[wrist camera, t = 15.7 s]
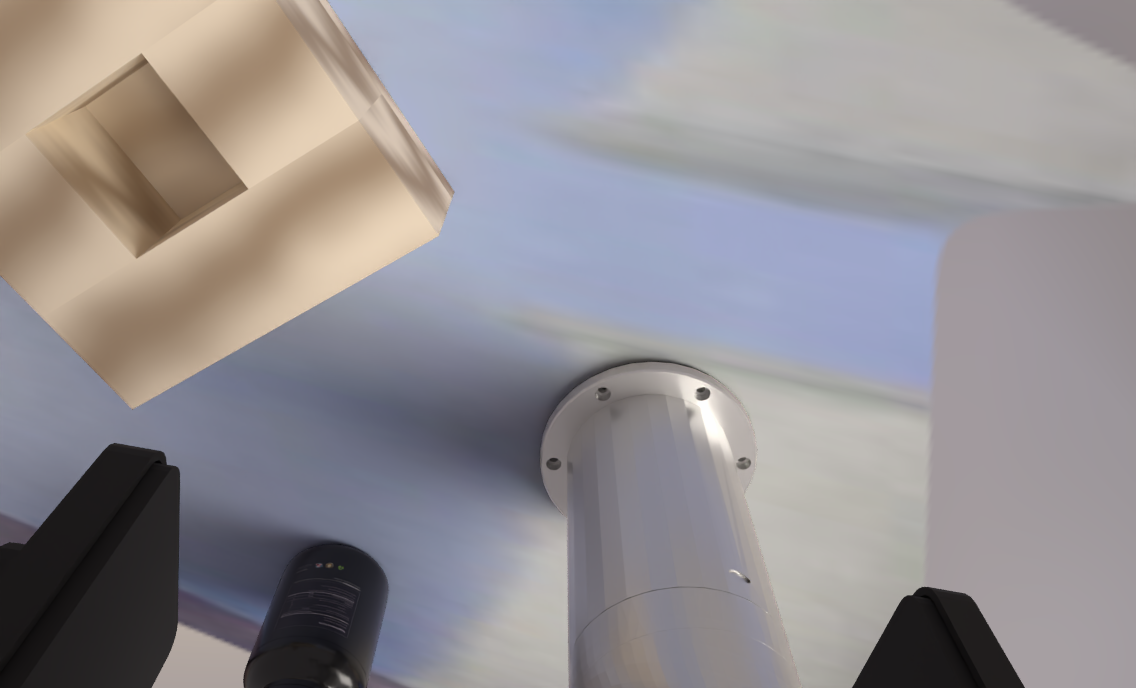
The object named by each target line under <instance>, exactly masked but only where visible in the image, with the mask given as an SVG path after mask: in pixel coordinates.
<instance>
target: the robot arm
mask: <svg viewBox="0 0 1136 688" xmlns="http://www.w3.org/2000/svg"><path fill="white" fill-rule="evenodd" d="M602 387H604V389H601V388H602ZM700 387H703V388H700ZM699 388H700V389H699ZM756 462H757V444H756V438H755V433H754V430H753V427H752V424H751V421H750V418H749V416H748V414H747V413H746V411H745V409H744V407H743V406H742V404H741V402H740V401H739V400H738V399H737V398H736V396H735V395H734V394H733V393H732V392H731V391H730V390H729V389H728V388H727V387H726V386H724V385H723V384H721V383H720V382H719V381H717V380H716V379H714V378H713V377H711V376H709V375H707V374H705V373H702V372H700V371H698V370H696V369H693V368H690V367H686V366H682V365H678V364H674V363H662V362H644V363H632V364H627V365H623V366H619V367H615V368H612V369H609V370H606V371H604V372H602V373H600V374H597V375H595V376H593V377H591V378H589V379H588V380H586V381H585V382H583V383H582V384H580V385H579V386H577V387H576V388H574V389H573V390H572V391H571V392H570V393H569V394H568V395H567V396H566V397H565V398H564V399H563V400H562V401H561V402H560V403H559V404H558V406H557V407H556V409H555V410H554V412H553V413H552V415H551V416H550V418H549V420H548V423H547V425H546V428H545V430H544V433H543V437H542V443H541V449H540V469H541V474H542V479H543V484H544V486H545V488H546V490H547V493H548V495H549V497H550V499H551V500H552V502H553V503H554V504H555V506H556V507H557V508H558V510H559V511H560V512H561V513H562V514H563V515H564V516H565V517H566V518H567V558H568V670H569V688H802V685H801V682H800V679H799V676H798V672H797V669H796V666H795V662H794V659H793V656H792V652H791V649H790V646H789V642H788V639H787V636H786V632H785V629H784V626H783V622H782V619H781V616H780V612H779V609H778V606H777V602H776V599H775V596H774V592H773V589H772V585H771V582H770V579H769V575H768V572H767V569H766V565H765V562H764V559H763V555H762V552H761V549H760V545H759V542H758V539H757V535H756V532H755V529H754V525H753V522H752V519H751V515H750V512H749V509H748V505H747V502H746V499H745V493H746V491H747V489H748V487H749V486H750V484H751V482H752V478H753V475H754V472H755V469H756ZM179 504H180V471H179V469H178V467H176V466H171V465H167V464H166V457H165V454H164V453H163V452H161V451H157V450H151V449H145V448H140V447H134V446H128V445H123V444H117V443H113V444H110V445H109V446H108V447H107V448H106V449H105V450H104V451H103V452H102V453H101V454H100V456H99V457H98V458H97V459H96V460H95V462H94V463H93V464H92V465H91V466H90V468H89V469H88V470H87V471H86V472H85V474H84V475H83V476H82V477H81V478H80V480H79V481H78V482H77V483H76V484H75V486H74V487H73V488H72V489H71V490H70V492H69V493H68V494H67V495H66V496H65V498H64V499H63V500H62V501H61V502H60V504H59V505H58V506H57V507H56V508H55V510H54V511H53V512H52V513H51V514H50V516H49V517H48V518H47V519H46V520H45V522H44V523H43V524H42V525H41V526H40V528H39V529H38V530H37V531H36V532H35V534H34V535H33V536H32V537H31V538H30V540H29V541H28V542H27V543H26V544H19V543H11V542H9V543H7V544H5V545H2V546H0V688H152V686H153V684H154V682H155V680H156V678H157V676H158V674H159V672H160V670H161V668H162V667H163V664H164V663H165V661H166V659H167V657H168V655H169V653H170V651H171V648H172V645H173V643H174V639H175V636H176V631H177V624H178V570H179ZM852 688H1025V687H1024V685H1023V684H1022V682H1021V680H1020V679H1019V677H1018V675H1017V673H1016V672H1015V670H1014V668H1013V667H1012V665H1011V663H1010V661H1009V660H1008V658H1007V656H1006V655H1005V653H1004V651H1003V650H1002V648H1001V646H1000V644H999V643H998V641H997V639H996V637H995V636H994V634H993V632H992V631H991V629H990V627H989V625H988V624H987V622H986V620H985V618H984V617H983V615H982V613H981V612H980V610H979V608H978V606H977V605H976V603H975V602H974V601H973V599H972V598H971V597H970V596H968V595H966V594H964V593H959V592H953V591H947V590H942V589H936V588H930V587H921V588H919V589H918V590H916V592H915V593H914V594H913V596H912V595H907V596H906V597H904V598H903V599H902V600H901V602H900V603H899V605H898V607H897V609H896V611H895V612H894V614H893V616H892V618H891V619H890V621H889V623H888V625H887V627H886V628H885V630H884V632H883V634H882V635H881V637H880V639H879V641H878V643H877V644H876V646H875V648H874V650H873V652H872V653H871V655H870V657H869V659H868V660H867V662H866V664H865V666H864V668H863V669H862V671H861V673H860V675H859V677H858V678H857V680H856V682H855V684H854V685H853V687H852Z"/></svg>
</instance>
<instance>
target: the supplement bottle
mask: <svg viewBox="0 0 1136 688" xmlns="http://www.w3.org/2000/svg"><path fill="white" fill-rule="evenodd" d="M387 598H388V582H387V578H386V575H385V573H384V571H383V570H382V568H381V567H380V566H379V564H378V563H377V562H376V561H375V560H374V559H372V558H371V557H370V556H369V555H367V554H365V553H364V552H362V551H360V550H357V549H355V548H352V547H349V546H344V545H336V544H327V545H319V546H315V547H312V548H309V549H307V550H305V551H303V552H301V553H299V554H298V555H297V556H295V557H294V558H293V559H292V560H291V561H290V563H289V564H288V565H287V567H286V569H285V571H284V573H283V575H282V578H281V580H280V582H279V585H278V587H277V590H276V592H275V595H274V597H273V600H272V602H271V605H270V607H269V610H268V612H267V615H266V617H265V620H264V622H263V625H262V627H261V630H260V632H259V635H258V637H257V640H256V642H255V645H254V647H253V650H252V653H251V655H250V658H249V660H248V663H247V665H246V669H245V672H244V679H243V683H244V688H367V685H368V680H369V676H370V672H371V668H372V663H373V659H374V655H375V651H376V646H377V642H378V638H379V634H380V629H381V625H382V621H383V617H384V612H385V608H386V603H387Z"/></svg>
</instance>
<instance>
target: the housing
mask: <svg viewBox="0 0 1136 688" xmlns="http://www.w3.org/2000/svg"><path fill="white" fill-rule="evenodd" d="M453 194H454V191H453V189H452V188H451V186H450V185H449V183H448V182H447V180H446V179H445V177H444V176H443V174H442V173H441V171H440V170H439V168H438V167H437V165H436V164H435V162H434V161H433V159H432V158H431V156H430V155H429V153H428V152H427V150H426V149H425V147H424V146H423V144H422V143H421V141H420V140H419V138H418V137H417V135H416V134H415V132H414V131H413V129H412V128H411V126H410V125H409V123H408V122H407V120H406V119H405V117H404V116H403V114H402V113H401V111H400V110H399V108H398V107H397V105H396V104H395V102H394V101H393V99H392V98H391V96H390V95H389V93H388V92H387V90H386V89H385V87H384V86H383V84H382V83H381V81H380V80H379V78H378V77H377V75H376V74H375V72H374V71H373V69H372V68H371V66H370V65H369V63H368V62H367V60H366V59H365V57H364V56H363V54H362V53H361V51H360V50H359V48H358V46H357V45H356V43H355V42H354V40H353V39H352V37H351V36H350V34H349V33H348V31H347V30H346V28H345V27H344V25H343V24H342V22H341V21H340V19H339V18H338V16H337V15H336V13H335V12H334V10H333V9H332V7H331V6H330V4H329V3H328V1H327V0H0V276H1V277H2V278H3V279H4V280H5V281H6V282H7V283H8V284H9V285H10V286H11V287H12V288H13V289H14V290H15V291H16V292H17V293H18V294H19V295H20V296H21V297H22V298H23V299H24V300H25V301H26V302H27V303H28V304H29V305H30V306H31V307H32V308H33V309H34V310H35V311H36V312H37V313H38V314H39V315H40V316H41V317H42V318H43V319H44V320H45V321H46V322H47V323H48V324H49V325H50V326H51V327H52V328H53V329H54V330H55V331H56V332H57V333H58V335H59V336H60V337H61V338H62V339H63V340H64V341H65V342H66V343H67V344H68V345H69V346H70V347H71V348H72V349H73V350H74V351H75V352H76V353H77V354H78V355H79V356H80V357H81V358H82V359H83V360H84V361H85V362H86V363H87V364H88V365H89V366H90V367H91V368H92V369H93V370H94V371H95V372H96V373H97V374H98V375H99V376H100V377H101V378H102V379H103V380H104V381H105V382H106V383H107V384H108V385H109V386H110V387H111V388H112V389H113V390H114V391H115V392H116V393H117V394H118V395H119V396H120V397H121V398H122V399H123V400H124V401H125V402H126V403H127V404H128V405H129V407H130V408H131V409H132V410H133V409H134V408H136V407H138V406H140V405H141V404H143V403H145V402H147V401H148V400H150V399H152V398H154V397H156V396H157V395H159V394H161V393H163V392H164V391H166V390H168V389H170V388H171V387H173V386H175V385H177V384H178V383H180V382H182V381H184V380H185V379H187V378H189V377H191V376H193V375H194V374H196V373H198V372H200V371H201V370H203V369H205V368H207V367H208V366H210V365H212V364H214V363H215V362H217V361H219V360H221V359H223V358H224V357H226V356H228V355H230V354H231V353H233V352H235V351H237V350H238V349H240V348H242V347H244V346H245V345H247V344H249V343H251V342H252V341H254V340H256V339H258V338H260V337H261V336H263V335H265V334H267V333H268V332H270V331H272V330H274V329H275V328H277V327H279V326H281V325H282V324H284V323H286V322H288V321H289V320H291V319H293V318H295V317H297V316H298V315H300V314H302V313H304V312H305V311H307V310H309V309H311V308H312V307H314V306H316V305H318V304H319V303H321V302H323V301H325V300H327V299H328V298H330V297H332V296H334V295H335V294H337V293H339V292H341V291H342V290H344V289H346V288H348V287H349V286H351V285H353V284H355V283H356V282H358V281H360V280H362V279H364V278H365V277H367V276H369V275H371V274H372V273H374V272H376V271H378V270H379V269H381V268H383V267H385V266H386V265H388V264H390V263H392V262H394V261H395V260H397V259H399V258H401V257H402V256H404V255H406V254H408V253H409V252H411V251H413V250H415V249H416V248H418V247H420V246H422V245H423V244H425V243H427V242H429V241H431V240H432V239H434V238H436V237H438V236H439V234H440V231H441V228H442V225H443V223H444V220H445V217H446V214H447V211H448V208H449V206H450V203H451V200H452V197H453Z"/></svg>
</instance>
